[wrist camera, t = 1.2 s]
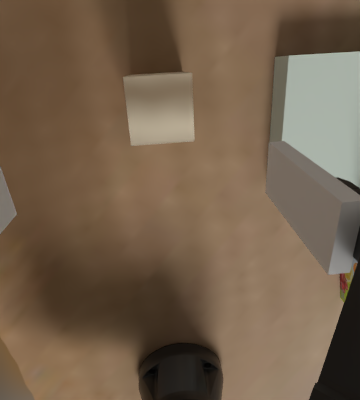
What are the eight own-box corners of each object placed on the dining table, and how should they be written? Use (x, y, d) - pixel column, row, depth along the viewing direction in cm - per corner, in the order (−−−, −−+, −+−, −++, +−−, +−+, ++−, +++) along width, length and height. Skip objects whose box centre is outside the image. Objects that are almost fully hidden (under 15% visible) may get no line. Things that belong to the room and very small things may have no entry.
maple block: (184, 123, 38) (194, 141, 29) (136, 126, 38) (131, 145, 29) (182, 71, 36) (192, 72, 26) (131, 74, 35) (122, 77, 26)
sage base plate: (377, 175, 43) (398, 185, 39) (266, 184, 42) (277, 195, 38) (405, 49, 36) (433, 47, 33) (275, 56, 36) (288, 55, 32)
